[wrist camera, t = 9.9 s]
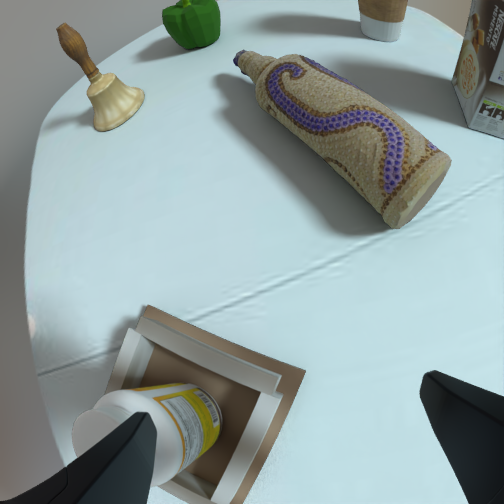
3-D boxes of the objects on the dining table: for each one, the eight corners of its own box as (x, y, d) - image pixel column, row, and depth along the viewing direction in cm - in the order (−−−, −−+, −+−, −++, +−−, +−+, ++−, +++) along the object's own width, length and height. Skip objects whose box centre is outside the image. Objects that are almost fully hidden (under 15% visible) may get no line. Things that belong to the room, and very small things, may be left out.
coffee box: (509, 142, 22) (562, 40, 7) (467, 128, 23) (512, 9, 8) (488, 91, 24) (519, -2, 10) (448, 79, 26) (472, -24, 11)
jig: (239, 509, 16) (227, 529, 13) (107, 434, 20) (82, 440, 17) (306, 370, 19) (305, 373, 16) (153, 306, 23) (130, 298, 20)
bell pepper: (172, 43, 38) (151, -2, 29) (218, 25, 38) (202, -22, 29) (181, 62, 35) (156, 9, 26) (234, 41, 35) (216, -14, 26)
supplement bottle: (146, 428, 19) (52, 455, 9) (169, 369, 20) (73, 368, 11) (210, 463, 17) (137, 523, 8) (237, 401, 19) (172, 436, 9)
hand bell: (95, 108, 36) (40, 36, 21) (143, 81, 35) (94, -1, 21) (93, 141, 33) (22, 61, 18) (147, 111, 32) (85, 15, 18)
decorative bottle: (440, 195, 22) (468, 150, 16) (386, 244, 22) (408, 204, 15) (270, 60, 32) (260, 18, 25) (220, 87, 31) (203, 44, 25)
